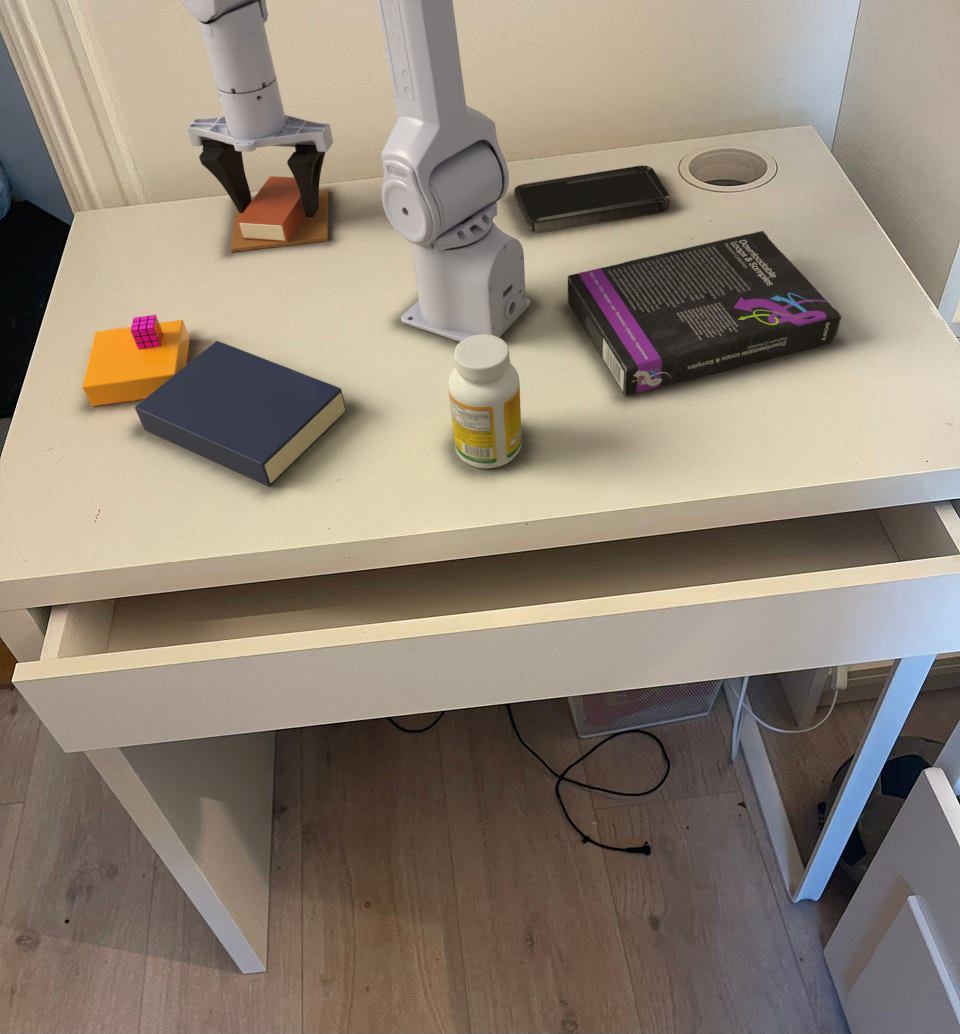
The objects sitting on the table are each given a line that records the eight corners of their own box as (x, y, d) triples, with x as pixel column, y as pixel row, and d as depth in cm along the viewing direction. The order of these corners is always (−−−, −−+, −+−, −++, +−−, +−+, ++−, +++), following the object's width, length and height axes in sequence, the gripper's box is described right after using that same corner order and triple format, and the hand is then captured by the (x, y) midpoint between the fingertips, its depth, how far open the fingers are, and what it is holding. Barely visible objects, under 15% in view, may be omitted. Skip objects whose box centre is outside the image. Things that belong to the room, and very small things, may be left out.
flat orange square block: (183, 394, 83) (167, 355, 80) (91, 406, 83) (72, 368, 80) (190, 338, 88) (176, 300, 85) (104, 350, 88) (86, 312, 85)
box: (622, 402, 79) (837, 344, 81) (624, 369, 76) (846, 311, 79) (566, 306, 88) (761, 257, 90) (565, 274, 85) (766, 224, 88)
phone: (672, 200, 96) (527, 223, 95) (671, 210, 97) (527, 233, 96) (649, 163, 101) (511, 184, 100) (649, 173, 102) (512, 194, 101)
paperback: (287, 243, 98) (282, 223, 96) (242, 240, 99) (236, 221, 97) (317, 197, 103) (313, 178, 102) (274, 194, 104) (269, 176, 103)
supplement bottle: (470, 479, 74) (459, 383, 66) (445, 436, 77) (432, 341, 70) (533, 457, 75) (529, 360, 68) (506, 416, 78) (500, 320, 71)
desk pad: (328, 191, 105) (327, 188, 105) (327, 240, 98) (327, 237, 98) (238, 202, 105) (237, 199, 104) (231, 252, 98) (230, 248, 98)
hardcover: (347, 412, 80) (342, 388, 78) (270, 488, 75) (262, 464, 73) (224, 363, 86) (216, 340, 84) (144, 430, 80) (133, 407, 78)
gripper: (158, 97, 89) (200, 226, 99) (302, 102, 86) (330, 235, 96) (190, 64, 94) (227, 191, 104) (328, 68, 91) (352, 198, 101)
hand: (278, 210), depth 100 cm, fingers open, 7 cm apart
